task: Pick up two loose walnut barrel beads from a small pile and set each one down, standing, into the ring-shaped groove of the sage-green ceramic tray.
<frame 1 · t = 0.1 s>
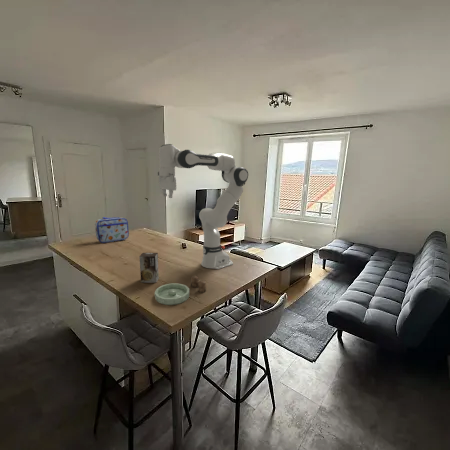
hand: (167, 197, 143), 48 cm above the counter, fingers open, 8 cm apart
bead b: (202, 290, 131), on the counter
lunch box: (112, 241, 218), on the counter
coffee box: (149, 280, 142), on the counter
bead a: (194, 286, 137), on the counter
tray: (172, 296, 125), on the counter
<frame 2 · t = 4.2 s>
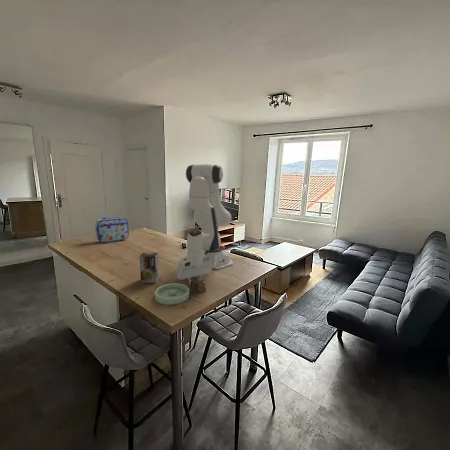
hand: (194, 283, 136), 2 cm above the counter, fingers closed on bead a, 4 cm apart
bead a: (194, 286, 137), on the counter, touching gripper
everything else where it was.
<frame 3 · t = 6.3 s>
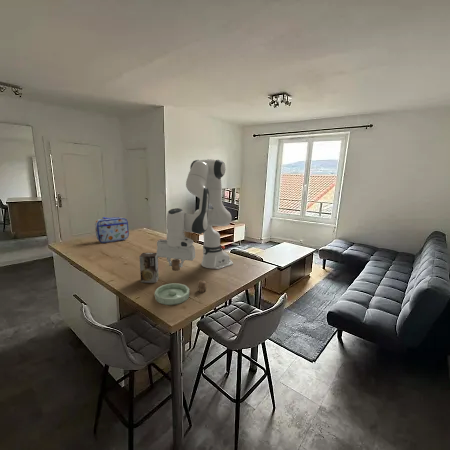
hand: (175, 266, 126), 15 cm above the counter, fingers closed on bead a, 4 cm apart
bead a: (175, 269, 126), point 13 cm above the counter, touching gripper
everything else where it was.
when the fingers open (4 cm above the counter, at t = 8.4 s): bead a drops 1 cm, resting on tray.
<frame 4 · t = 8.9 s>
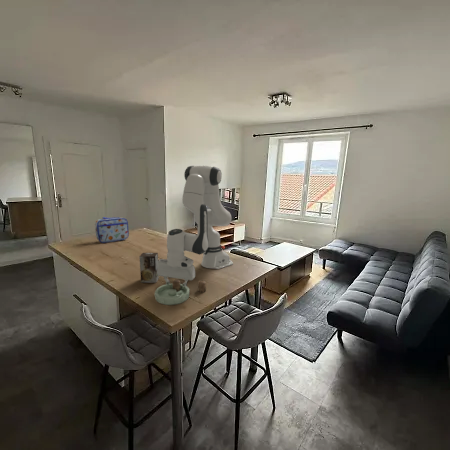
hand: (176, 285, 128), 4 cm above the counter, fingers open, 8 cm apart
bead a: (176, 290, 129), point 1 cm above the counter, touching tray
everything else where it was.
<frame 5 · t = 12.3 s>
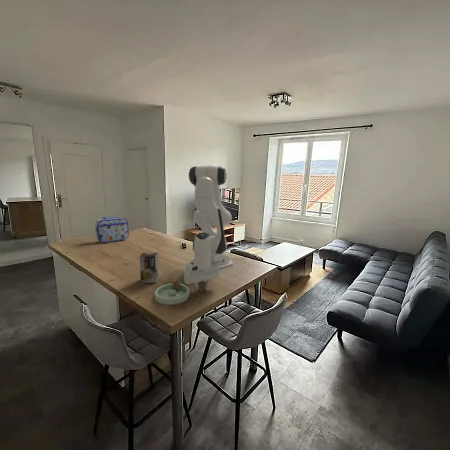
hand: (202, 287, 131), 2 cm above the counter, fingers closed on bead b, 4 cm apart
bead b: (202, 290, 131), on the counter, touching gripper
everything else where it was.
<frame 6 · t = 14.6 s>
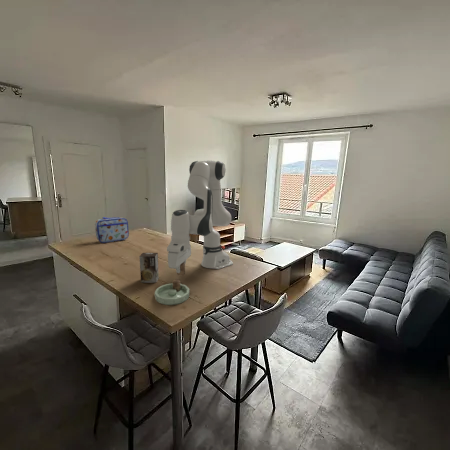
hand: (180, 270, 120), 15 cm above the counter, fingers closed on bead b, 4 cm apart
bead b: (180, 273, 121), point 13 cm above the counter, touching gripper
everything else where it was.
when the fingers open (4 cm above the counter, at t = 16.8 s): bead b drops 1 cm, resting on tray.
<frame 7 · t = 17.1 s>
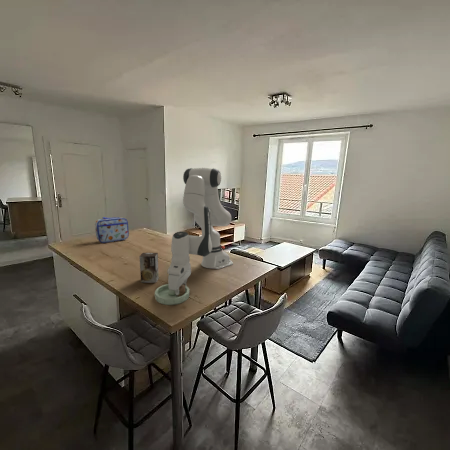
hand: (180, 290, 123), 4 cm above the counter, fingers open, 7 cm apart
bead b: (181, 295, 123), point 1 cm above the counter, touching tray
everything else where it was.
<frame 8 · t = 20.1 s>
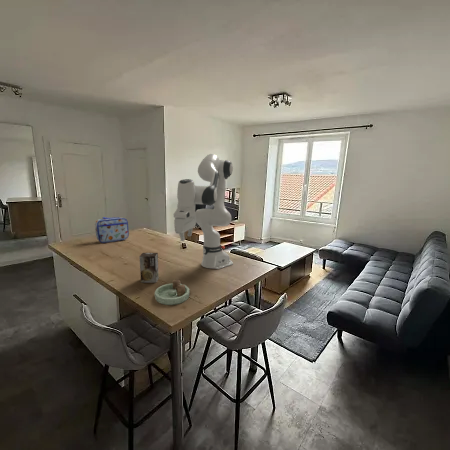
hand: (186, 238, 126), 29 cm above the counter, fingers open, 8 cm apart
nothing on the counter moved.
at the end: bead a inside the target area on the tray (4.8 cm from its centre), point 1.0 cm above the tray's base; bead b inside the target area on the tray (4.7 cm from its centre), point 1.0 cm above the tray's base; bead a tilted 1° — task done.
